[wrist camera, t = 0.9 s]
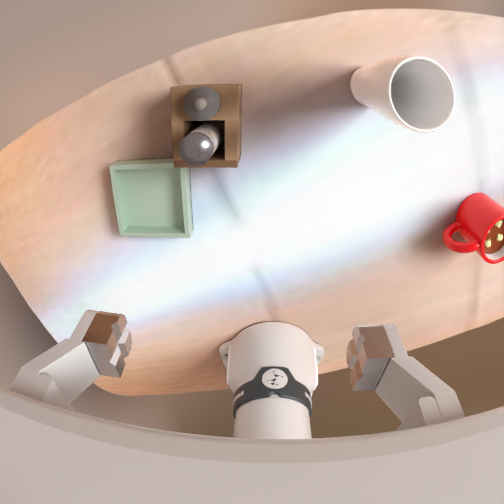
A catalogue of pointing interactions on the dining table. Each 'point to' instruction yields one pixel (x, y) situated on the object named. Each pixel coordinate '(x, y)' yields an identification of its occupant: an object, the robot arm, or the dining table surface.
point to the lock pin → (201, 142)
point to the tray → (152, 198)
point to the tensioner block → (207, 108)
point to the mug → (478, 228)
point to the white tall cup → (406, 92)
